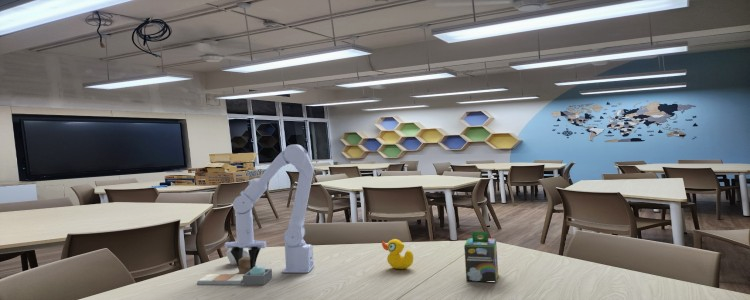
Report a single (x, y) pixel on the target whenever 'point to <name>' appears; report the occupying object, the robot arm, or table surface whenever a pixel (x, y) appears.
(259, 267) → the dome
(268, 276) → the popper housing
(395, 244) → the duckling
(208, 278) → the game board
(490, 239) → the chalk box
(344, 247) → the table surface
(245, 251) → the die
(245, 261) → the brown wooden block
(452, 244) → the table surface
